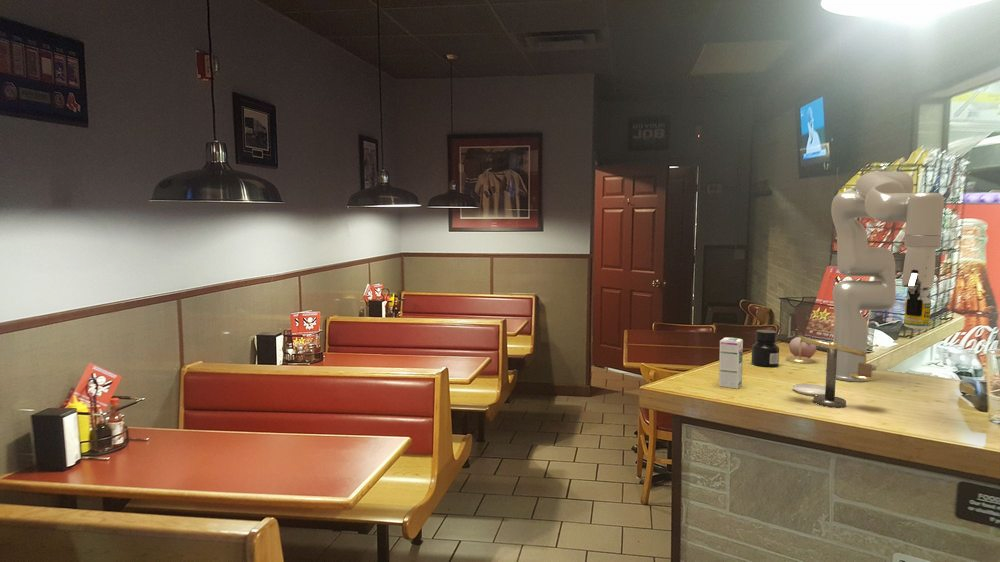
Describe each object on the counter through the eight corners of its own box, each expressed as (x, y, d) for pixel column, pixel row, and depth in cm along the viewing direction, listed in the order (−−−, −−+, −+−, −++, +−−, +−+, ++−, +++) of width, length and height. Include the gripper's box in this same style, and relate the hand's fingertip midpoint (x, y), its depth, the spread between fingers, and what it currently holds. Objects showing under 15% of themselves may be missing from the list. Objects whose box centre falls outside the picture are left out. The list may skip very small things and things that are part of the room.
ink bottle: (778, 368, 211) (779, 334, 210) (750, 366, 215) (751, 332, 214) (778, 363, 220) (780, 330, 219) (752, 360, 224) (753, 328, 223)
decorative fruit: (783, 358, 228) (784, 332, 227) (804, 358, 229) (805, 331, 228) (798, 364, 219) (799, 336, 218) (819, 363, 220) (821, 336, 219)
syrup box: (738, 389, 185) (740, 341, 183) (717, 386, 188) (719, 339, 186) (742, 385, 189) (743, 338, 188) (722, 382, 192) (723, 336, 191)
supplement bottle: (906, 324, 160) (909, 288, 159) (931, 327, 156) (934, 289, 155) (901, 327, 156) (903, 289, 155) (926, 329, 152) (929, 291, 151)
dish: (813, 385, 189) (813, 382, 189) (842, 395, 178) (843, 392, 178) (783, 388, 185) (784, 385, 185) (812, 398, 175) (812, 394, 175)
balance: (784, 394, 179) (787, 333, 177) (876, 405, 168) (880, 340, 167) (783, 401, 172) (786, 337, 170) (878, 413, 161) (883, 345, 159)
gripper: (914, 241, 162) (909, 309, 164) (894, 242, 151) (889, 315, 153) (948, 242, 157) (943, 312, 159) (931, 243, 145) (925, 319, 147)
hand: (917, 313), depth 155 cm, fingers closed on supplement bottle, 5 cm apart
